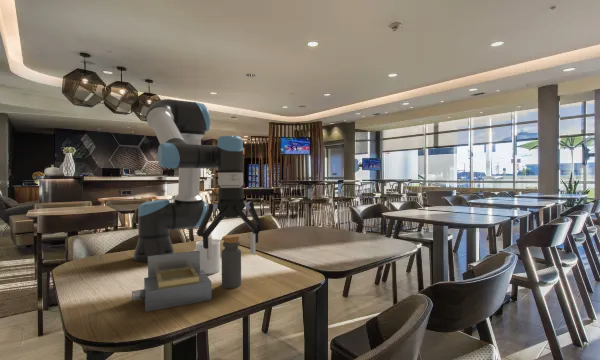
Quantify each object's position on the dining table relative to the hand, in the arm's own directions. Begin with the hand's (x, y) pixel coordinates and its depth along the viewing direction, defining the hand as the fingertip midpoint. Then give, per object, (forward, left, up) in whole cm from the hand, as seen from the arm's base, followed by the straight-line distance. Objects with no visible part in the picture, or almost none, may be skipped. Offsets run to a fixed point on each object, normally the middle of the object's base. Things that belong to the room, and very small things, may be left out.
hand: (231, 256), depth 98 cm
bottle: (0, 0, -9) cm, 9 cm away
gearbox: (+3, -17, -9) cm, 20 cm away
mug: (-17, -5, -9) cm, 20 cm away
